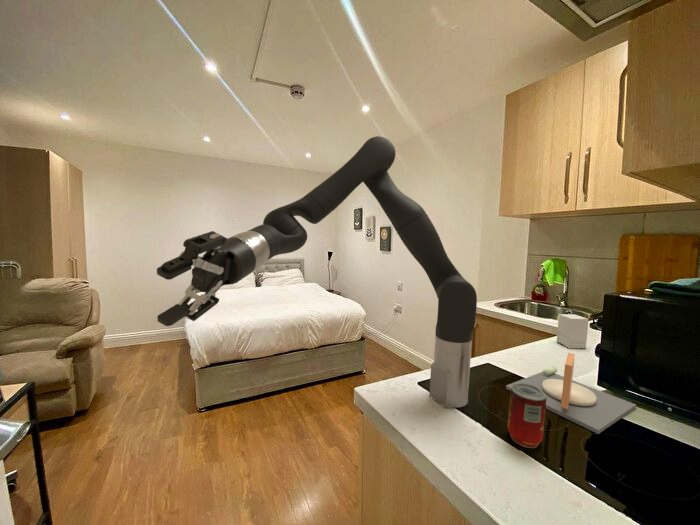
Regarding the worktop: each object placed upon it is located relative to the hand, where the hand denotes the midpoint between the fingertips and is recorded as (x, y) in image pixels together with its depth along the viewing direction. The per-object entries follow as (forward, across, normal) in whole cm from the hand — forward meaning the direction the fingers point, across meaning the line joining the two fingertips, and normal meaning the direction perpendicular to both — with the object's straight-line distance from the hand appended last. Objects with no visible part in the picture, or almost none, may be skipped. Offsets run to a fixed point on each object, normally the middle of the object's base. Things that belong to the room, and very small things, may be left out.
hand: (161, 299), depth 39 cm
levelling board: (-51, -20, +85) cm, 101 cm away
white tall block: (-98, -27, +106) cm, 147 cm away
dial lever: (-49, -18, +83) cm, 98 cm away
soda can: (-29, -19, +68) cm, 76 cm away
